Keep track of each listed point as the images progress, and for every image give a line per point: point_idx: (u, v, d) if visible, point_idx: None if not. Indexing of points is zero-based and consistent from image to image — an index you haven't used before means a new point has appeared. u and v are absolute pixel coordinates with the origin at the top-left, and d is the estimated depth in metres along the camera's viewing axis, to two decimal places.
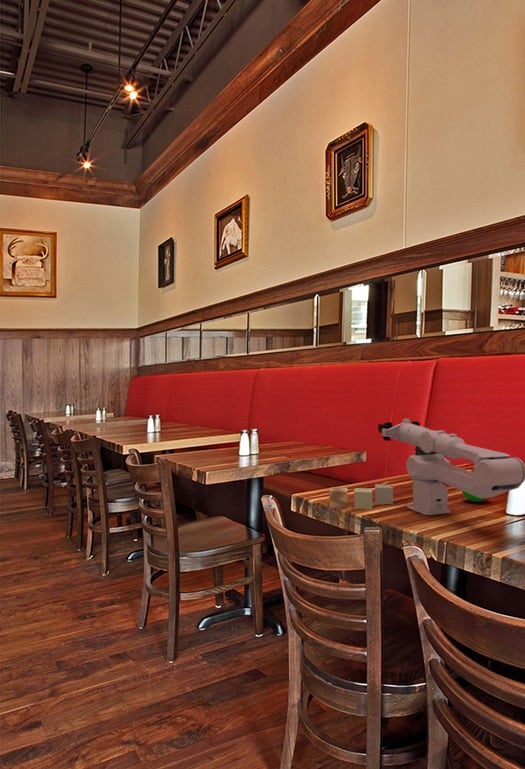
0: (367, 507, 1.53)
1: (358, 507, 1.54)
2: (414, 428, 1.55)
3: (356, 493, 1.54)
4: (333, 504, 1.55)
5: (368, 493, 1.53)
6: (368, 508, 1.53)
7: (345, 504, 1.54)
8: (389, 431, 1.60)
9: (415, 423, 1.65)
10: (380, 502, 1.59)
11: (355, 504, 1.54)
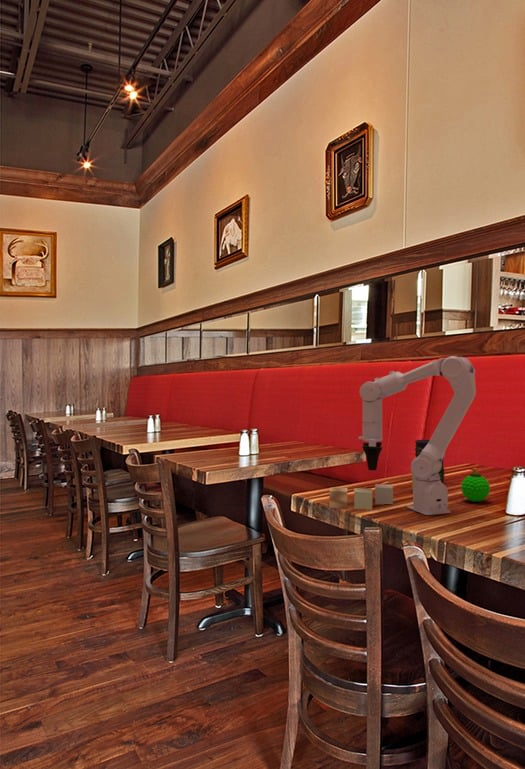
0: (367, 507, 1.53)
1: (358, 507, 1.54)
2: None
3: (356, 493, 1.54)
4: (333, 504, 1.55)
5: (368, 493, 1.53)
6: (368, 508, 1.53)
7: (345, 504, 1.54)
8: (370, 440, 1.55)
9: (365, 443, 1.66)
10: (380, 502, 1.59)
11: (355, 504, 1.54)
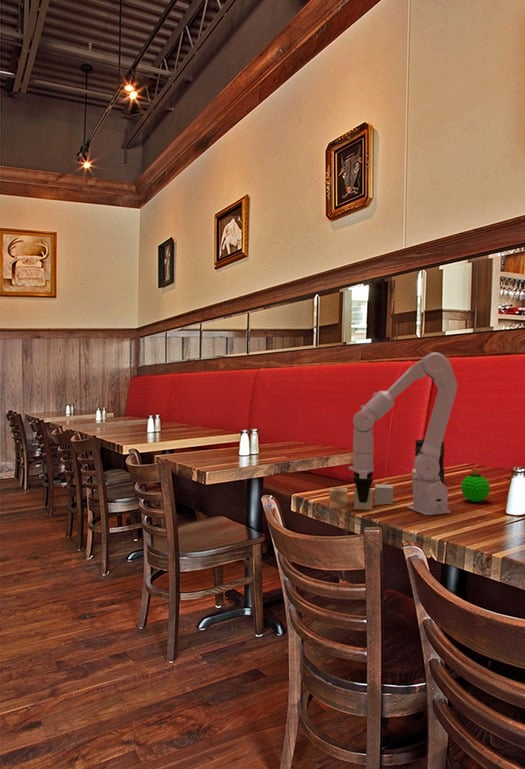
0: (367, 507, 1.53)
1: (358, 507, 1.54)
2: (354, 446, 1.54)
3: (356, 493, 1.54)
4: (333, 504, 1.55)
5: None
6: (368, 508, 1.53)
7: (345, 504, 1.54)
8: (361, 472, 1.50)
9: (355, 472, 1.61)
10: (380, 502, 1.59)
11: (355, 504, 1.54)
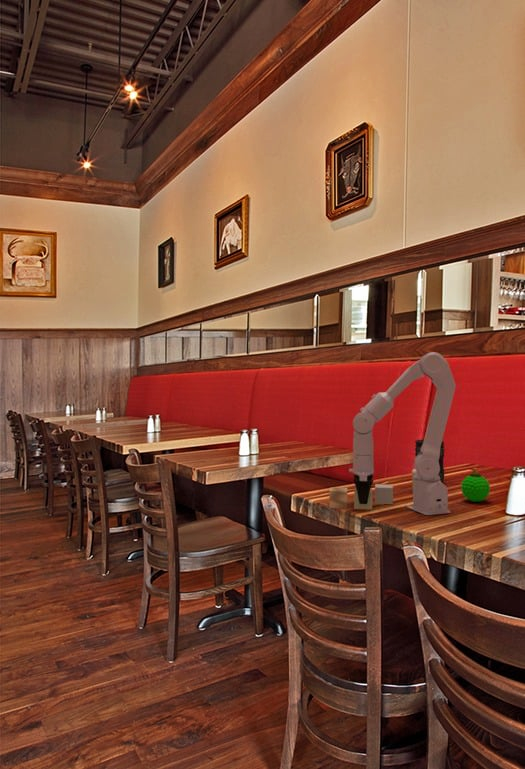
0: (367, 506, 1.53)
1: (358, 507, 1.54)
2: (354, 448, 1.54)
3: (356, 493, 1.54)
4: (333, 504, 1.55)
5: None
6: (368, 508, 1.53)
7: (345, 504, 1.54)
8: (361, 474, 1.50)
9: (355, 475, 1.60)
10: (380, 502, 1.59)
11: (355, 504, 1.54)
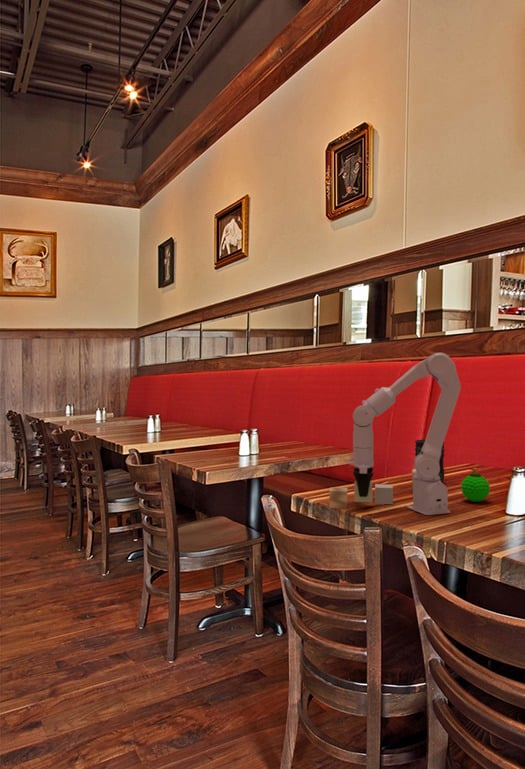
0: (367, 499, 1.53)
1: (358, 499, 1.53)
2: (354, 441, 1.54)
3: (356, 485, 1.54)
4: (333, 504, 1.55)
5: None
6: (368, 500, 1.53)
7: (345, 504, 1.54)
8: None
9: (355, 468, 1.59)
10: (380, 502, 1.59)
11: (355, 496, 1.54)
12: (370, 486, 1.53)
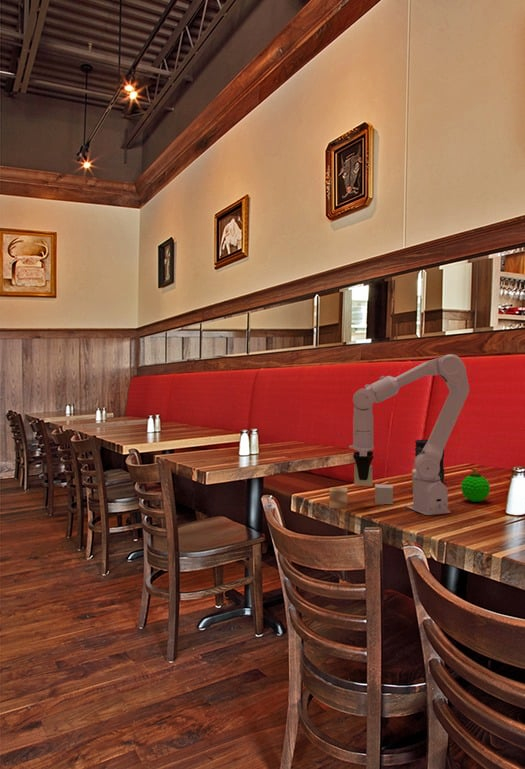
0: (367, 482, 1.53)
1: (358, 483, 1.53)
2: (354, 424, 1.54)
3: (356, 469, 1.53)
4: (333, 504, 1.55)
5: None
6: (368, 484, 1.53)
7: (345, 504, 1.54)
8: None
9: (355, 452, 1.59)
10: (380, 502, 1.59)
11: (355, 480, 1.54)
12: (370, 469, 1.53)
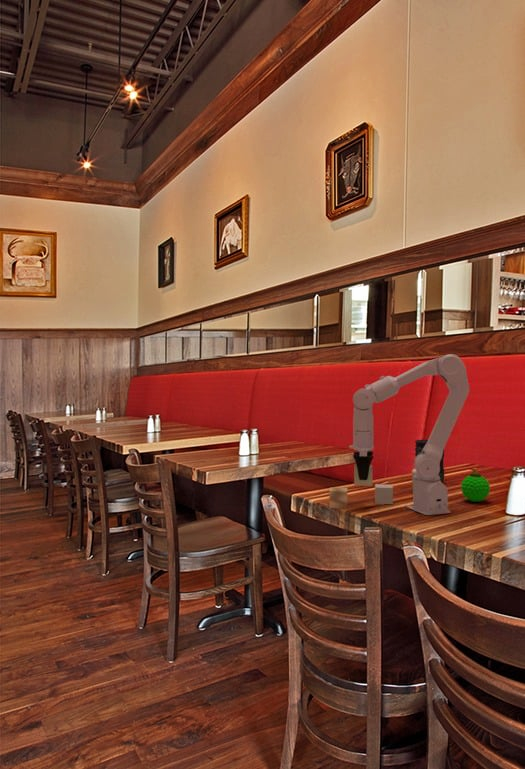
0: (367, 482, 1.53)
1: (358, 483, 1.53)
2: (354, 424, 1.54)
3: (356, 469, 1.53)
4: (333, 504, 1.55)
5: None
6: (368, 484, 1.53)
7: (345, 504, 1.54)
8: None
9: (355, 452, 1.59)
10: (380, 502, 1.59)
11: (355, 480, 1.54)
12: (370, 469, 1.53)
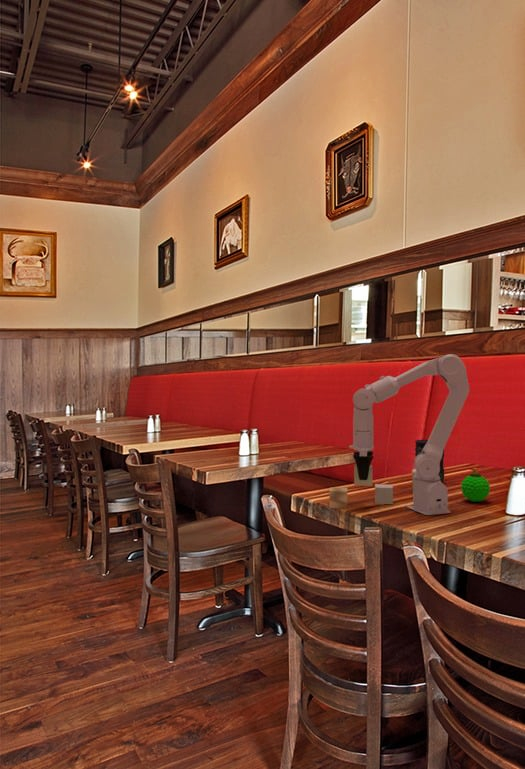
0: (367, 482, 1.53)
1: (358, 483, 1.53)
2: (354, 424, 1.54)
3: (356, 469, 1.53)
4: (333, 504, 1.55)
5: None
6: (368, 484, 1.53)
7: (345, 504, 1.54)
8: None
9: (355, 452, 1.59)
10: (380, 502, 1.59)
11: (355, 480, 1.54)
12: (370, 469, 1.53)
